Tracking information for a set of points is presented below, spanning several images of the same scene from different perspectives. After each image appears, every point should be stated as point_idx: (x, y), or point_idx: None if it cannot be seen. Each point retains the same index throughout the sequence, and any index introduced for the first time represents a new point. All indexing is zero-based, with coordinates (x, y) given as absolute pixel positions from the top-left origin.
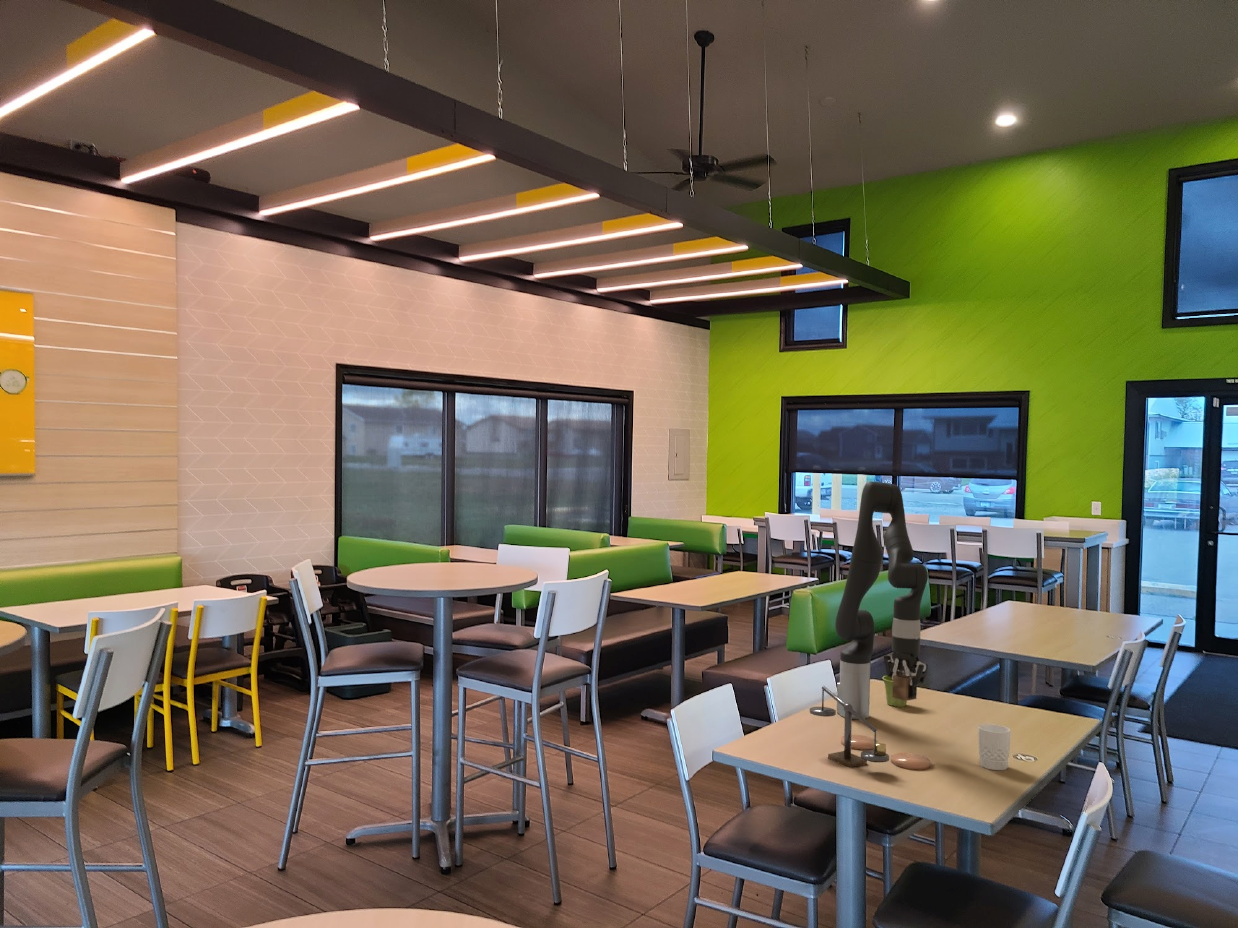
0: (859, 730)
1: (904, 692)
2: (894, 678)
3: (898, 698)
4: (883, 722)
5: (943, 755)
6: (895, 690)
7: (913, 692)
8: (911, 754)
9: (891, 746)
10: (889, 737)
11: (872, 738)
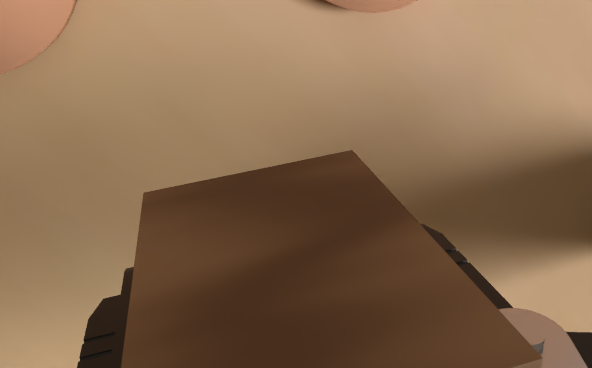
0: (530, 77)
1: (154, 247)
2: (456, 321)
3: (258, 171)
4: (540, 248)
5: (65, 227)
6: (334, 202)
7: (84, 356)
8: (26, 19)
9: (272, 62)
10: (389, 149)
11: (372, 3)
